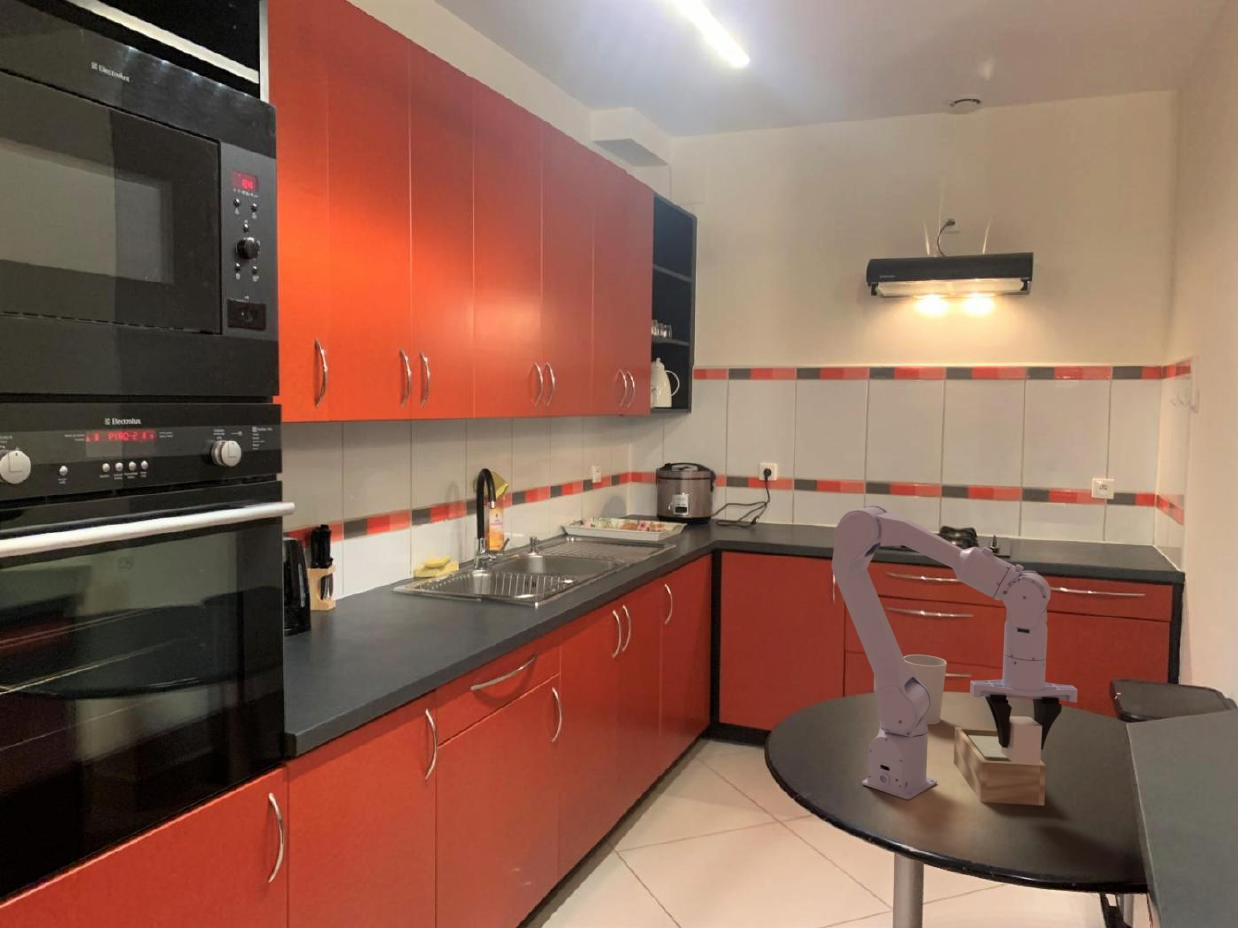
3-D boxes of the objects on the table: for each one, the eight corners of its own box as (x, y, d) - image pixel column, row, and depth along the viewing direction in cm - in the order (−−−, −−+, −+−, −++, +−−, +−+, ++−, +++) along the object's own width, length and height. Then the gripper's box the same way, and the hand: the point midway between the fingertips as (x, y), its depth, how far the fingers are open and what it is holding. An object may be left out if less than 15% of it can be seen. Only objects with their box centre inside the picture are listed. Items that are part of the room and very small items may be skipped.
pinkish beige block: (1040, 762, 130) (1042, 725, 130) (1012, 762, 130) (1014, 725, 130) (1027, 752, 134) (1029, 716, 134) (1001, 752, 134) (1002, 716, 134)
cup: (936, 715, 175) (939, 655, 174) (950, 730, 167) (952, 666, 166) (895, 714, 175) (897, 654, 174) (907, 728, 167) (909, 665, 166)
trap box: (1044, 807, 134) (1045, 765, 133) (980, 804, 135) (982, 762, 134) (1010, 768, 149) (1012, 729, 148) (953, 765, 150) (955, 727, 149)
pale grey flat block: (1029, 782, 137) (1030, 758, 136) (983, 780, 137) (984, 755, 137) (1010, 760, 145) (1011, 736, 145) (967, 757, 146) (968, 734, 146)
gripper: (1065, 650, 134) (1061, 739, 135) (965, 646, 136) (962, 733, 137) (1085, 663, 127) (1080, 756, 128) (979, 658, 129) (975, 750, 130)
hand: (1020, 746), depth 132 cm, fingers closed on pinkish beige block, 4 cm apart
